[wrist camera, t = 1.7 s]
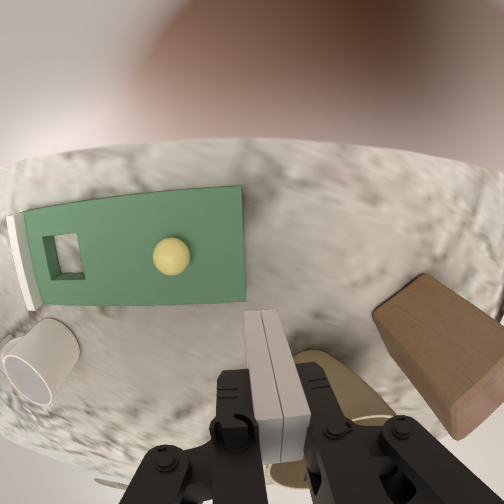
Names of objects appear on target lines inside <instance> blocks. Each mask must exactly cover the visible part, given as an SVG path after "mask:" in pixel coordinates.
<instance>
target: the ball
mask: <svg viewBox="0 0 504 504" xmlns="http://www.w3.org/2000/svg"><path fill="white" fill-rule="evenodd" d="M189 261H190V252H189V249H188V247H187V245H186V244H185V243H184V242H183V241H181V240H180V239H177V238H165V239H163V240H161V241H160V242H159V243H158V244H157V245H156V247H155V249H154V251H153V262H154V264H155V266H156V268H157V269H158V270H159V271H160V272H161V273H163V274H166V275H177V274H180V273H181V272H183V271H184V270H185V269H186V267H187V266H188V264H189Z"/></svg>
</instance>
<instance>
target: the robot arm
mask: <svg viewBox="0 0 504 504" xmlns="http://www.w3.org/2000/svg"><path fill="white" fill-rule="evenodd" d="M244 329H245V346H246V361H247V369H240V370H223V371H222V373H221V374H220V376H219V377H218V379H217V401H216V417H215V418H214V419H213V420H212V421H211V423H210V427H209V430H210V435H211V440H210V441H209V442H207V443H206V444H204V445H202V446H199V447H196V448H192V449H188V450H182V449H181V448H178V447H176V446H174V445H160V446H156V447H154V448H152V449H150V450H149V451H148V452H147V454H146V455H145V456H144V458H143V460H142V462H141V464H140V465H139V467H138V469H137V471H136V473H135V475H134V476H133V478H132V480H131V482H130V484H129V486H128V488H127V489H126V491H125V493H124V495H123V497H122V499H121V500H120V502H119V504H202V503H203V501H207V500H211V499H213V504H268V499H267V493H266V486H265V478H264V471H263V465H266V464H276V463H280V461H281V463H284V462H292V461H298V460H303V455H304V456H305V460H306V463H307V464H306V468H305V472H304V476H303V482H304V481H308V485H309V489H310V493H311V497H312V501H313V504H504V501H503V500H502V499H501V498H500V497H499V496H498V495H496V493H494V492H493V491H492V490H491V489H490V488H489V487H488V486H487V485H486V484H485V483H483V482H482V481H481V480H480V479H479V478H478V477H477V476H476V475H475V474H473V473H472V472H471V471H470V470H469V469H468V468H467V467H466V466H465V465H464V464H463V463H462V462H460V461H459V460H458V459H457V458H456V457H455V456H454V455H453V454H452V453H451V452H450V451H448V450H447V449H446V448H445V447H444V446H443V445H442V444H441V443H440V442H439V441H438V440H437V439H436V438H435V437H434V436H432V435H431V434H430V433H429V432H428V431H427V430H426V429H425V428H424V427H423V426H422V425H421V424H420V423H419V422H417V421H416V420H415V419H413V418H412V417H409V416H405V415H396V416H394V417H391V418H389V419H388V420H387V421H386V422H385V423H384V425H383V426H364V425H358V424H355V423H354V422H353V421H352V420H350V419H349V418H347V417H345V415H344V414H343V412H342V410H341V407H340V405H339V403H338V401H337V398H336V396H335V394H334V392H333V389H332V387H331V385H330V383H329V380H328V379H327V376H326V374H325V371H324V369H323V368H322V367H321V366H320V365H318V364H317V363H316V362H315V361H314V362H306V363H298V364H295V363H294V360H293V357H292V354H291V351H290V348H289V345H288V342H287V339H286V336H285V333H284V330H283V327H282V324H281V321H280V318H279V315H278V311H277V309H268V310H261V313H260V310H254V311H244Z"/></svg>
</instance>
